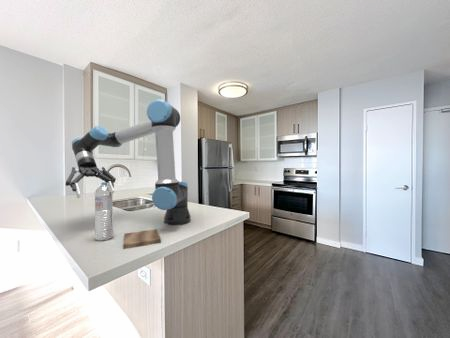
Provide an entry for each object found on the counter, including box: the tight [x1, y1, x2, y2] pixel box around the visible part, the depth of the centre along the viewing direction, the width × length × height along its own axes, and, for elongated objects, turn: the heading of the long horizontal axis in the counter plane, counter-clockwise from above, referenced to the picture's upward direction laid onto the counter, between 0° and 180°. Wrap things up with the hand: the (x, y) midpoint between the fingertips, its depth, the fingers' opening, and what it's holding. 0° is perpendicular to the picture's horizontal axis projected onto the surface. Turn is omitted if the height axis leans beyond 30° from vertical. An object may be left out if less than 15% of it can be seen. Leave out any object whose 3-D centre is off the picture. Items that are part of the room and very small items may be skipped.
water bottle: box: [94, 181, 114, 242], centre depth 85 cm, size 7×7×25 cm
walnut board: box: [122, 228, 162, 250], centre depth 84 cm, size 14×14×2 cm
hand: (96, 194), depth 89 cm, fingers open, 13 cm apart
